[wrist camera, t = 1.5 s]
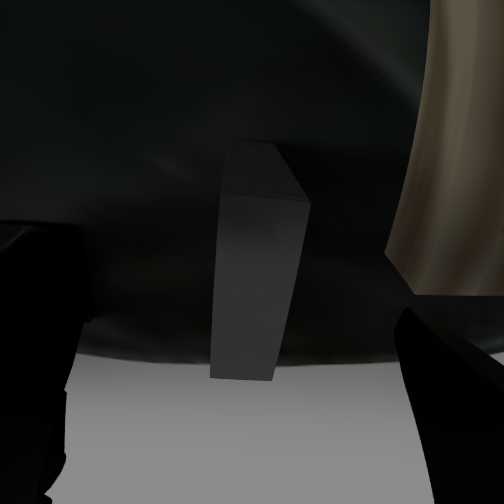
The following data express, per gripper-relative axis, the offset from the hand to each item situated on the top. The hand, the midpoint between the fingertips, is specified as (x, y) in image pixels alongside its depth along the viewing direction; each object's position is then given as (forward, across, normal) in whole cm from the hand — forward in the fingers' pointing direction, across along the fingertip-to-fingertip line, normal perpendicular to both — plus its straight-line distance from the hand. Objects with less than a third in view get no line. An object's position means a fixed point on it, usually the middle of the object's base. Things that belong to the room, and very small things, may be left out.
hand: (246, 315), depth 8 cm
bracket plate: (+8, 0, 0) cm, 8 cm away
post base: (+8, -14, -7) cm, 18 cm away
